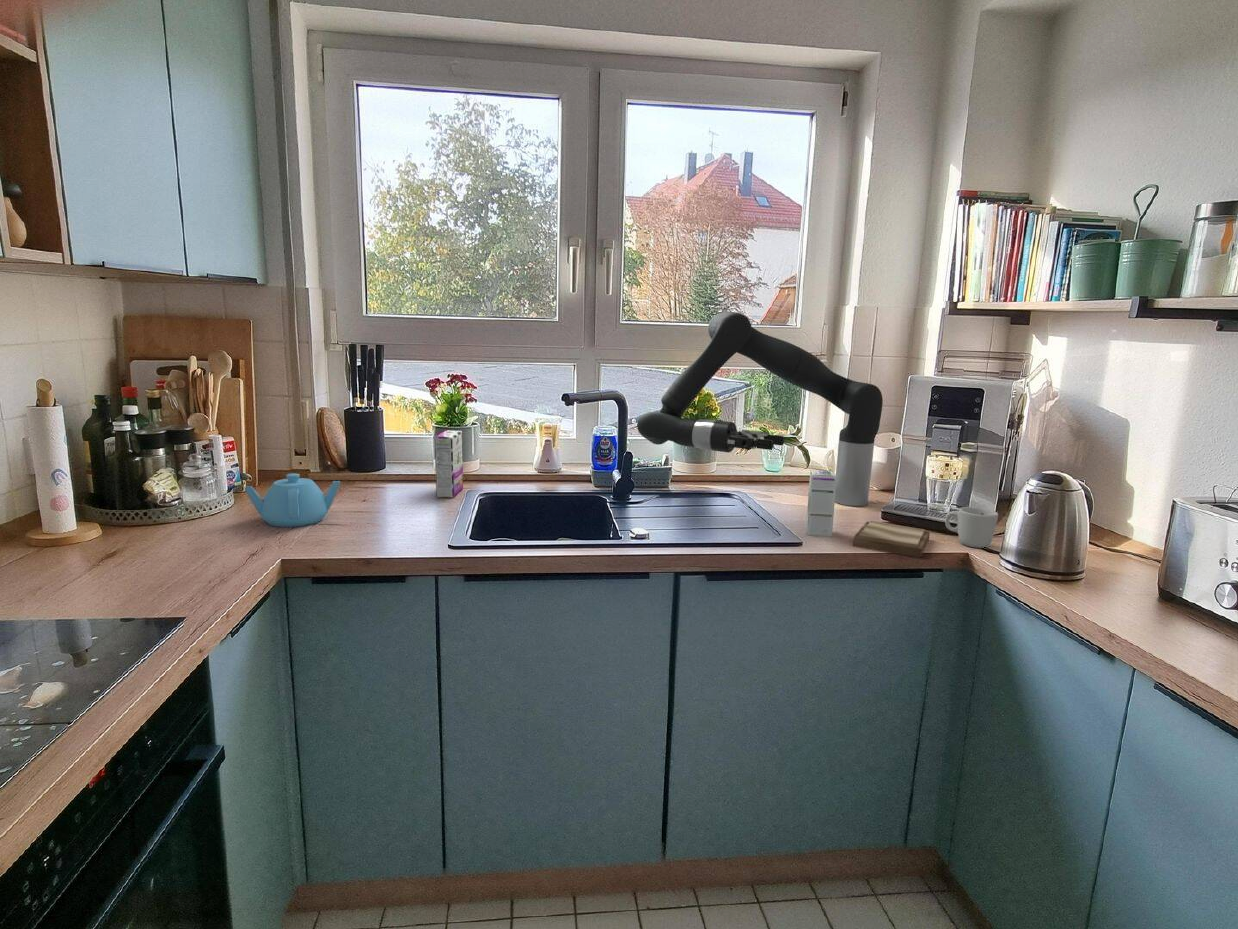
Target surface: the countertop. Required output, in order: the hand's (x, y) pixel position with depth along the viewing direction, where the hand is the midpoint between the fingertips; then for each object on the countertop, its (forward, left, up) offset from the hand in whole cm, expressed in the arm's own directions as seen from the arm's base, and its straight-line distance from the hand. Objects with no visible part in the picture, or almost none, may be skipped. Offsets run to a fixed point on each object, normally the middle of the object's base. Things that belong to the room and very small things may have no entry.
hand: (778, 443), depth 168 cm
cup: (-12, +42, -20) cm, 48 cm away
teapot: (+62, -93, -20) cm, 113 cm away
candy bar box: (+22, -83, -20) cm, 88 cm away
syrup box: (0, +11, -20) cm, 23 cm away
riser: (-2, +27, -20) cm, 34 cm away
